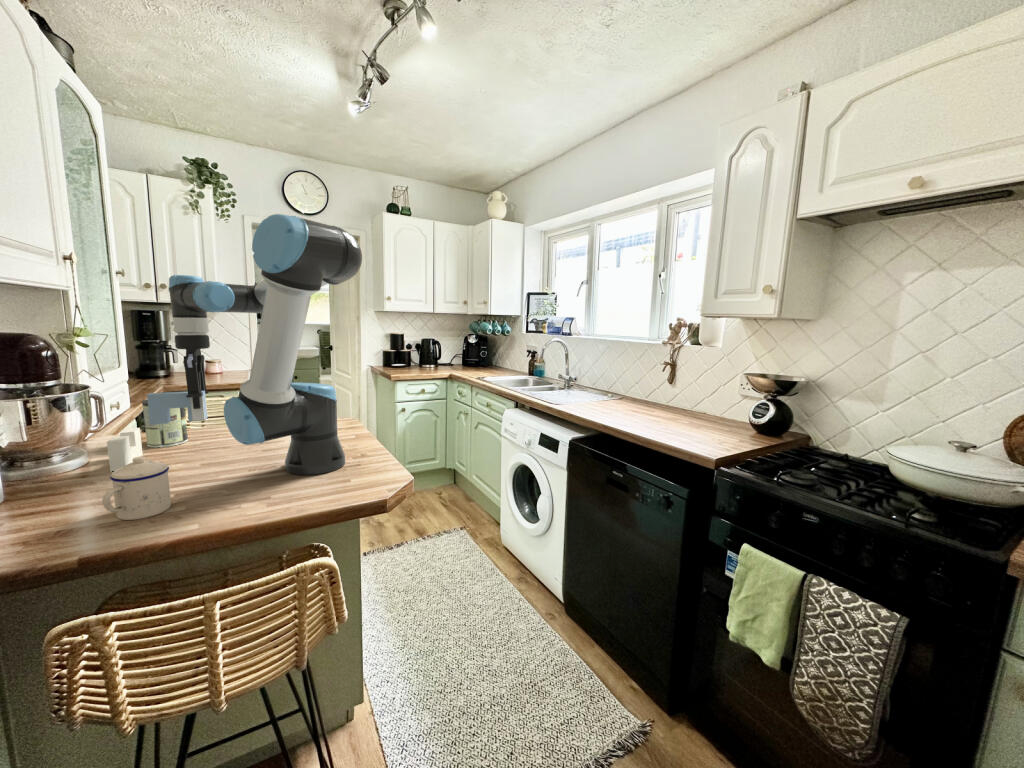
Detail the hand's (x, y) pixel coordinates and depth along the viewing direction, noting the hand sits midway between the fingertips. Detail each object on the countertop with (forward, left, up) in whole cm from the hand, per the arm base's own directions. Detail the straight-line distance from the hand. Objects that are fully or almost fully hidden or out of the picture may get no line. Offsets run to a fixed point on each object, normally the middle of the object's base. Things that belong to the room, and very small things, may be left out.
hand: (200, 418), depth 118 cm
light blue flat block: (0, +5, 0) cm, 5 cm away
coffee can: (+22, +13, -12) cm, 29 cm away
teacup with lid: (-35, +6, -12) cm, 37 cm away
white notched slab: (+4, +18, -12) cm, 22 cm away
